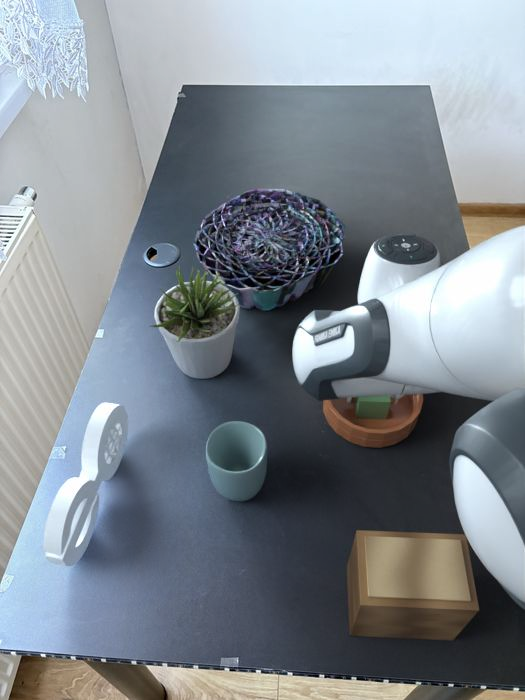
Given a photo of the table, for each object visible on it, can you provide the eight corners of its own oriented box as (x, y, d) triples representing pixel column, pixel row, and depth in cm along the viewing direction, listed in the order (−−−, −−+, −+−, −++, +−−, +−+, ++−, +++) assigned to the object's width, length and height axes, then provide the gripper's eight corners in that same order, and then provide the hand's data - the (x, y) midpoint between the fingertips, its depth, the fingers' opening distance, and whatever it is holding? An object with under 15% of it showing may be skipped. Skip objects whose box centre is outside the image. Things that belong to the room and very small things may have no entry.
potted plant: (143, 369, 96) (119, 278, 80) (200, 319, 103) (187, 226, 87) (203, 408, 91) (189, 319, 75) (258, 352, 98) (255, 260, 82)
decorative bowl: (367, 272, 112) (376, 228, 105) (270, 349, 98) (273, 304, 90) (265, 216, 123) (268, 173, 116) (165, 277, 109) (160, 232, 102)
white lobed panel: (118, 428, 89) (103, 388, 81) (132, 430, 88) (119, 390, 81) (59, 574, 75) (34, 543, 67) (75, 577, 75) (52, 547, 67)
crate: (442, 571, 75) (466, 532, 65) (452, 640, 69) (480, 609, 60) (346, 567, 75) (356, 528, 66) (349, 635, 70) (361, 603, 61)
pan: (437, 420, 89) (443, 403, 85) (361, 466, 84) (365, 450, 81) (376, 358, 97) (380, 340, 93) (304, 397, 92) (305, 379, 88)
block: (383, 394, 91) (388, 376, 88) (386, 419, 88) (390, 402, 85) (354, 393, 91) (357, 376, 88) (355, 418, 89) (359, 401, 85)
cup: (219, 454, 86) (214, 415, 78) (272, 463, 85) (272, 425, 77) (204, 503, 81) (198, 467, 73) (261, 514, 80) (260, 479, 72)
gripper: (305, 355, 76) (301, 415, 87) (467, 360, 76) (443, 420, 86) (305, 319, 80) (301, 380, 91) (459, 323, 80) (437, 384, 90)
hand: (371, 400), depth 89 cm, fingers closed on block, 4 cm apart
